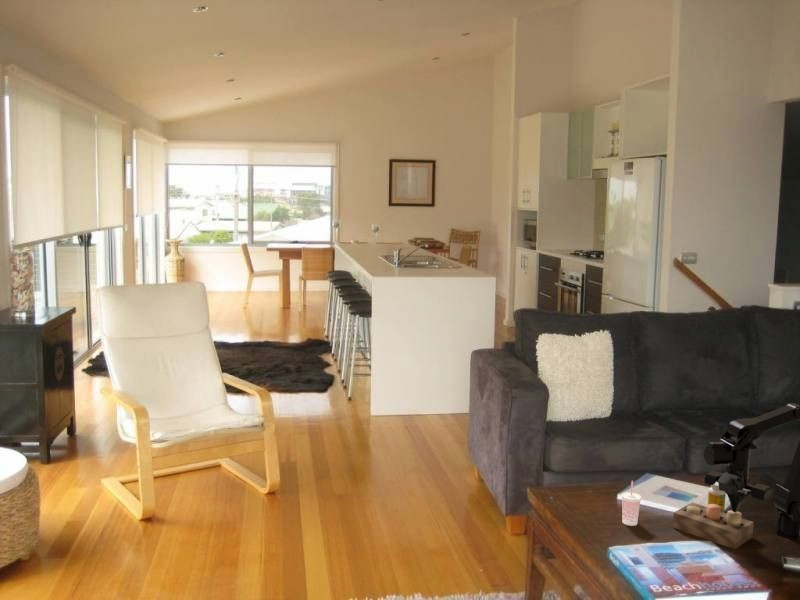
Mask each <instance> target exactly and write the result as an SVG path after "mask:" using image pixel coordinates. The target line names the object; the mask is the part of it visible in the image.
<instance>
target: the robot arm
mask: <svg viewBox="0 0 800 600" xmlns="http://www.w3.org/2000/svg"><path fill="white" fill-rule="evenodd" d="M795 420H796V421H798V422H799V424H798V432H799V434H800V405H799V404H796V403H792V402H791V403H789V402H788V403H787V404H786V405H785V406H781V407H779V408H777V409H774V410H772V411H769V412H767V413H764V414H761V415H758V416H756V417H751V418H750V417H744V418H739V419H734V420H732V421H730V422H729V425H728V427H727V428H726V429H725V431H724V432H723V433H722V434H721V436H719V439H718V440H719V441H708V445H706V446H705V447H704V450H703V459H704V461H705V464H707V465H708V466H715V465H726V467H725V471H724V472H719V471H716V470H711V471H708V472H707V473H705V474H704V476H703V483H704V484H707V485H710V486H711V485H714V484H715V483H716V482H718V484H719V490H721V491H724V492H725V493H726V495H727V498H728V500H729V503H730V506H731V510H733V512H737V511H738V510H739V509H740V507H741V504H742V503H743V501H744V500H745V498H746V497H748V496H749V495H750V496H751V497H752V498H753V499H757V500H760V501H765V500H767V499H768V498H770V497H771V496H772V503H773V505H774V506H775V509H776V512H779V516H778V517H777V521H776V522H777V523H776V531H775V534H776V535H777V536H782V537H785V538H788V539H791V540H794V541H798V540H800V440H799V441H798V444H797V446H796V450H795V452H794V455H793V458H792V461H791V464H790V467H789V470H788V473H787V476H786V478H785V481H783V483H781V484H778V483H777V484H776V485H775V486H774V490H773V489H772V488H771V487H770V486H769V485H765V484H761V483H757V484H755V485H751V484H749V482H750V478H749V470H750V469H751V465H750V456H751V450H757V449H758V446H757V445H755V443H754V441H756V440H757V439H759V438H760V437H761V435H762V434H764V433H765V432H767V431H770V430H772V429H775V428H778V427H780V426H782V425H785V424H788V423H791V422H794V421H795ZM731 438H732V439H731ZM735 440H736V441H735Z"/></svg>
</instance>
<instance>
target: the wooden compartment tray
mask: <svg viewBox="0 0 800 600" xmlns="http://www.w3.org/2000/svg"><path fill="white" fill-rule="evenodd" d="M688 506H696V507H699V508H700V514H698V515H695V514H692V513H689V512H687V507H688ZM706 514H707V506H705V505H701V504H698V503H695V502H689V504H686V505H685V506H683V507H681V508H680V509H677V510H676V511H674V512H673V519H672V529H677V530H679V531H682V532H684V533H688V534H689V535H693V536H696V537H698V538H702V539H705V540H706V541H710V542H713V543H715V544H719V545H721V546H724V547H726V548H727V547H728V548H730V549H733V550H736V549H737V548H739V547H741V546H742V545H744V544H745V543H746V542H748V541H749V540H750V539H752V538H753V535H754V521H751V520H748V519H746V518H742V517H741V527H740V528H738V529H737V528H734V527H731V526H728V525H726V524H727V512H725V511H724V512H721V513H720V520H719V521H718V522H716V521H713V520H710V519H707V518H706Z"/></svg>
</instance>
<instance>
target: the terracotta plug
mask: <svg viewBox="0 0 800 600" xmlns="http://www.w3.org/2000/svg"><path fill="white" fill-rule="evenodd" d="M706 507H707V514H706V518H707V519H710V520H713V521H716V522H718V521H719V520H720V513H721V507H720V506H719V505H716V504H708V503H707V506H706Z"/></svg>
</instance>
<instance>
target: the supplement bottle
mask: <svg viewBox="0 0 800 600" xmlns="http://www.w3.org/2000/svg"><path fill="white" fill-rule="evenodd" d="M707 491H708V492H707V505H708V504H716V505H719V506H720V507H721V512H724V513H725V510H726V509H725V507H726V495H727V494H726V493H725V492H724V491H721V490H719V484H718V482H716V483H715V484H714V485H710V487H709V488H708V490H707Z"/></svg>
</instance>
